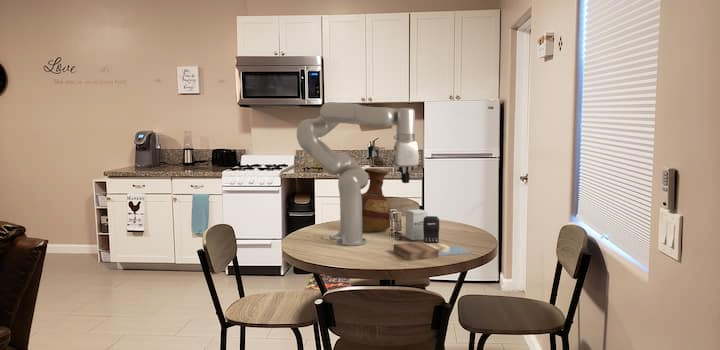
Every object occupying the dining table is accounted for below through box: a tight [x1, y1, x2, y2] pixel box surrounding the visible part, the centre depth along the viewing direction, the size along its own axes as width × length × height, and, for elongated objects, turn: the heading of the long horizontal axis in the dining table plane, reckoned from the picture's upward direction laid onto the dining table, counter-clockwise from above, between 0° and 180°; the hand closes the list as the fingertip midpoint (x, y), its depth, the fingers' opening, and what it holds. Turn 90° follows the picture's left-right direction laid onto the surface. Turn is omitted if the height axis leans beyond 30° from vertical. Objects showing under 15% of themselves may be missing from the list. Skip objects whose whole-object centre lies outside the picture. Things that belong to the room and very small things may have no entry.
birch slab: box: [427, 243, 450, 253], centre depth 222 cm, size 8×6×2 cm
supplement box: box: [405, 208, 428, 241], centre depth 246 cm, size 7×7×13 cm
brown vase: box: [361, 168, 392, 233], centre depth 263 cm, size 20×20×30 cm
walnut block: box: [393, 241, 439, 262], centre depth 217 cm, size 12×15×3 cm
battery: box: [422, 215, 440, 244], centre depth 238 cm, size 7×4×11 cm, turn 87°
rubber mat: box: [438, 245, 472, 257], centre depth 223 cm, size 16×12×1 cm
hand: (405, 182), depth 228 cm, fingers closed
